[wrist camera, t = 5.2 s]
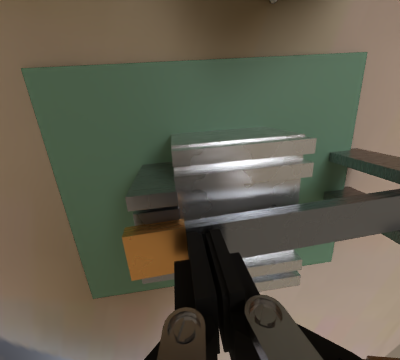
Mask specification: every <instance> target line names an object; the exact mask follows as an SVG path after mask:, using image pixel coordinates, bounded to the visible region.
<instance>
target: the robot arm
mask: <svg viewBox="0 0 400 360" xmlns="http://www.w3.org/2000/svg"><path fill="white" fill-rule="evenodd" d="M187 241H188V251H189V259H188V260H181V261H174V289H175V311H173V312H172V313H171V314H170V315H169V316H168V317H167V319H166V320H165V323H164V326H163V330H162V335H161V340H160V342H159V343H158V344H157V345H156V346H155V348H154V349H153V350H152V351H151V352H150V353H149V355H148V356H147V357H146V358H145V359H144V360H217V354H220V345H219V331H220V335H221V340H222V344H223V349H224V352H229V353H230V357H231V360H400V358H389V357H376V356H367V358H366V359H361V358H360V357H358V356H357V355H355V354H354V353H352V352H350V351H348V350H346V349H344V348H342V347H341V346H339V345H337V344H335V343H333V342H331V341H329V340H327V339H325V338H323V337H321V336H319V335H318V334H316V333H314V332H312V331H310V330H308V329H306V328H304V327H302V326H300V325H298V324H296V323H295V321H294V320H293V319H292V317H291V316H290V315H289V313H288V312H287V311H286V309H285V308H284V307H283V306H282V305H281V304H280V303H279V301H277V300H276V299H274V298H272V297H269V296H267V295H260V294H259V292H258V290H257V288H256V285H255V283H254V281H253V279H252V277H251V275H250V273H249V271H248V269H247V267H246V265H245V263H244V261H243V259H242V257H241V255H240V253H239V252H236V253H229V250H228V248H227V246H226V243H225V241H224V238H223V236H222V233H221V231H220V229H211V230H209V233H205V241H206V249H205V245H204V241H203V237H202V234H198V233H197V231H196V232H188V233H187Z"/></svg>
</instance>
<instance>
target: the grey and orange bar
mask: <svg viewBox="0 0 400 360" xmlns="http://www.w3.org/2000/svg"><path fill="white" fill-rule="evenodd" d="M211 229H220V231H221V233H222V236H223V238H224V241H225V243H226V246H227V248H228V250H229V253H236V252H239V253H240V255H241V257H242V259H243V258H248V257H254V256H259V255H265V254H270V253H276V252H281V251H287V250H292V249H298V248H303V247H309V246H314V245H320V244H325V243H331V242H336V241H342V240H347V239H353V238H358V237H364V236H369V235H375V234H380V233H386V232H391V231H397V230H400V189H396V190H389V191H383V192H376V193H369V194H363V195H356V196H349V197H342V198H336V199H329V200H322V201H315V202H309V203H302V204H295V205H288V206H282V207H275V208H268V209H261V210H255V211H248V212H241V213H234V214H228V215H221V216H214V217H207V218H201V219H194V220H187V221H184V219H179V220H172V221H166V222H159V223H152V224H145V225H138V226H132V227H125V229H124V232H123V236H122V240H123V245H124V249H125V254H126V258H127V263H128V267H129V272H130V276H131V281H134V280H140V279H145V278H151V277H156V276H162V275H167V274H172V273H174V261H181V260H188V259H189V251H188V241H187V233H188V232H196V231H197V233H198V234H202V237H203V241H204V245H205V249H206V241H205V233H209V230H211Z"/></svg>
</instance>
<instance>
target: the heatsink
mask: <svg viewBox="0 0 400 360" xmlns="http://www.w3.org/2000/svg"><path fill="white" fill-rule="evenodd" d="M316 140H317V138H313V137H308V136H305V134H302V133H296V132H291V131H285V130H280V129H274V128H269V127H252V128H240V129H228V130H216V131H204V132H192V133H180V134H171V153H172V162H165V163H155V164H145V165H142V166H141V168H140V170H139V172H138V174H137V176H136V178H135V180H134V181H133V183H132V185H131V187H130V189H129V191H128V193H127V195H126V197H125V200H126V205H127V210H128V212H129V211H134V212H133V219H134V224H135V226H138V225H145V224H152V223H159V222H166V221H172V220H179V219H184V221H187V220H194V219H201V218H207V217H214V216H221V215H228V214H234V213H241V212H248V211H255V210H261V209H268V208H275V207H282V206H288V205H295V204H298V202H299V192H300V182H301V178H304V177H312V174H313V166H314V162H311V161H308V160H306V159H303V155H304V154H314V153H315V149H316ZM329 161H330V162H333V163H337V164H340V165H343V166H346V167H349V168H352V169H355V170H358V171H361V172H364V173H367V174H370V175H374V176H377V177H380V178H383V179H386V180H389V181H392V182H395V183H398V184H400V157H396V156H391V155H386V154H382V153H377V152H372V151H367V150H362V149H358V148H356V149H351V150H347V151H337V152H330V155H329ZM363 194H365V193H363V192H361V191H358V190H356V189H354V188H352V187H344V189H343V190H334V191H326V192H324V197H323V200H329V199H336V198H342V197H349V196H356V195H363ZM381 234H383V235H385V236H386V237H388V238H390V239H391V240H393V241H395V242H396V243H398V244H400V230H397V231H391V232H386V233H381ZM243 261H244V263H245V265H246V267H247V269H248V271H249V273H250V275H251V277H252V279H253V281H254V283H255V285H256V288H257V290H258V292H261V291H267V290H273V289H279V288H285V287H291V286H297V285H300V277H301V276H300V274H299V273H298V272H297V270H301V268H302V258H301V257H300V256H299V255H298V254H297V253H296V252H295V250H294V249H292V250H287V251H281V252H276V253H270V254H265V255H259V256H254V257H248V258H243ZM173 279H174V273H172V274H167V275H162V276H156V277H151V278H145V279H142V283H143V284H147V283H153V282H160V281H167V280H173Z"/></svg>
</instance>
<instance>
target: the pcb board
mask: <svg viewBox="0 0 400 360" xmlns="http://www.w3.org/2000/svg"><path fill="white" fill-rule="evenodd" d="M366 58H367V52H357V53H336V54H315V55H294V56H272V57H251V58H230V59H209V60H188V61H167V62H146V63H124V64H103V65H82V66H61V67H40V68H21V71H22V74H23V77H24V80H25V83H26V87H27V90H28V93H29V96H30V99H31V103H32V106H33V109H34V112H35V115H36V119H37V122H38V125H39V128H40V131H41V134H42V138H43V141H44V144H45V147H46V150H47V154H48V157H49V160H50V163H51V166H52V170H53V173H54V176H55V179H56V182H57V185H58V189H59V192H60V195H61V198H62V201H63V205H64V208H65V211H66V214H67V217H68V221H69V224H70V227H71V230H72V233H73V236H74V240H75V243H76V246H77V249H78V252H79V256H80V259H81V262H82V265H83V268H84V272H85V275H86V278H87V281H88V284H89V287H90V291H91V294H92V297H93V299H95V298H101V297H108V296H114V295H121V294H127V293H133V292H140V291H146V290H152V289H159V288H165V287H172V286H174V279H173V280H167V281H160V282H153V283H147V284H143V283H142V279H140V280H134V281H131V276H130V272H129V267H128V263H127V258H126V254H125V249H124V245H123V240H122V236H123V232H124V229H125V227H132V226H135V224H134V219H133V212H134V211H129V212H128V210H127V205H126V200H125V197H126V195H127V193H128V191H129V189H130V187H131V185H132V183H133V181H134V180H135V178H136V176H137V174H138V172H139V170H140V168H141V166H142V165H145V164H155V163H165V162H172V153H171V134H180V133H192V132H204V131H216V130H228V129H240V128H252V127H269V128H274V129H280V130H285V131H291V132H296V133H302V134H305V136H308V137H313V138H317V140H316V149H315V153H314V154H304V155H303V159H306V160H308V161H311V162H314V166H313V174H312V177H304V178H301V182H300V192H299V202H298V204H302V203H309V202H315V201H322V200H323V197H324V192H326V191H334V190H343V189H344V185H345V179H346V173H347V167H346V166H343V165H340V164H337V163H333V162H330V161H329V155H330V152H337V151H347V150H351V144H352V139H353V133H354V127H355V121H356V115H357V110H358V104H359V98H360V92H361V87H362V81H363V75H364V69H365V64H366ZM333 248H334V242H331V243H325V244H320V245H314V246H309V247H303V248H298V249H294V250H295V252H296V253H297V254H298V255H299V256H300V257H301V258H302V266H305V265H312V264H318V263H325V262H331V260H332V254H333Z"/></svg>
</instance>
